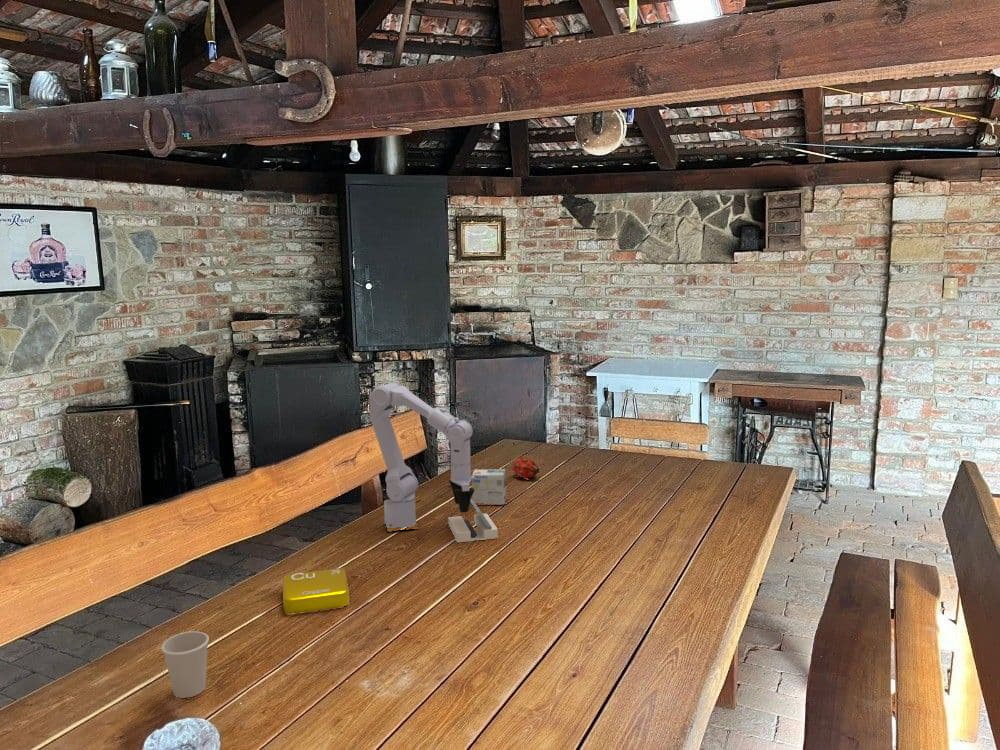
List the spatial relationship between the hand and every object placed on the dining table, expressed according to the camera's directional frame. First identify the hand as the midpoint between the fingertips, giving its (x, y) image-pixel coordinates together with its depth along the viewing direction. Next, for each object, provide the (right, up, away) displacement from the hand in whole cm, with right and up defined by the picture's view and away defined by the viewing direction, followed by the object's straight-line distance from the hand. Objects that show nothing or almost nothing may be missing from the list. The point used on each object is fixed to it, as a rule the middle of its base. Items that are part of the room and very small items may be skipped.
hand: (461, 507), depth 221 cm
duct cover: (+5, -2, +2) cm, 6 cm away
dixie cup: (-48, -22, -76) cm, 93 cm away
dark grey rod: (+2, -6, +1) cm, 7 cm away
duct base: (+3, -8, +2) cm, 9 cm away
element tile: (-33, -16, -38) cm, 53 cm away
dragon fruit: (+21, +1, +55) cm, 59 cm away
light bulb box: (+8, -4, +29) cm, 30 cm away
